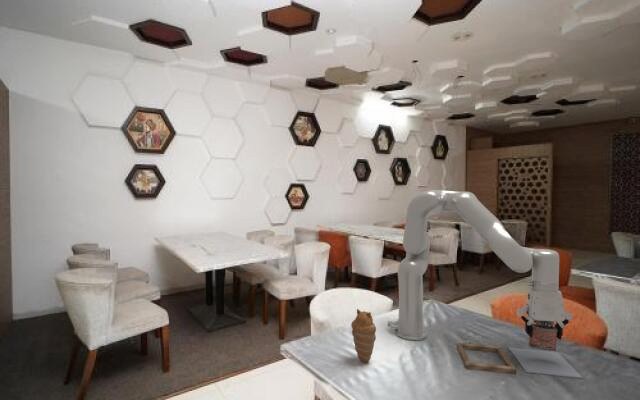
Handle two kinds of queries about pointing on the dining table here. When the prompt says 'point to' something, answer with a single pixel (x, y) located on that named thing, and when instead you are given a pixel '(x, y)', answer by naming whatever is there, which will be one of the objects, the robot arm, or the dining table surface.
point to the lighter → (543, 336)
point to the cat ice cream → (363, 335)
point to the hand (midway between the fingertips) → (543, 336)
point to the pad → (544, 363)
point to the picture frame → (486, 367)
